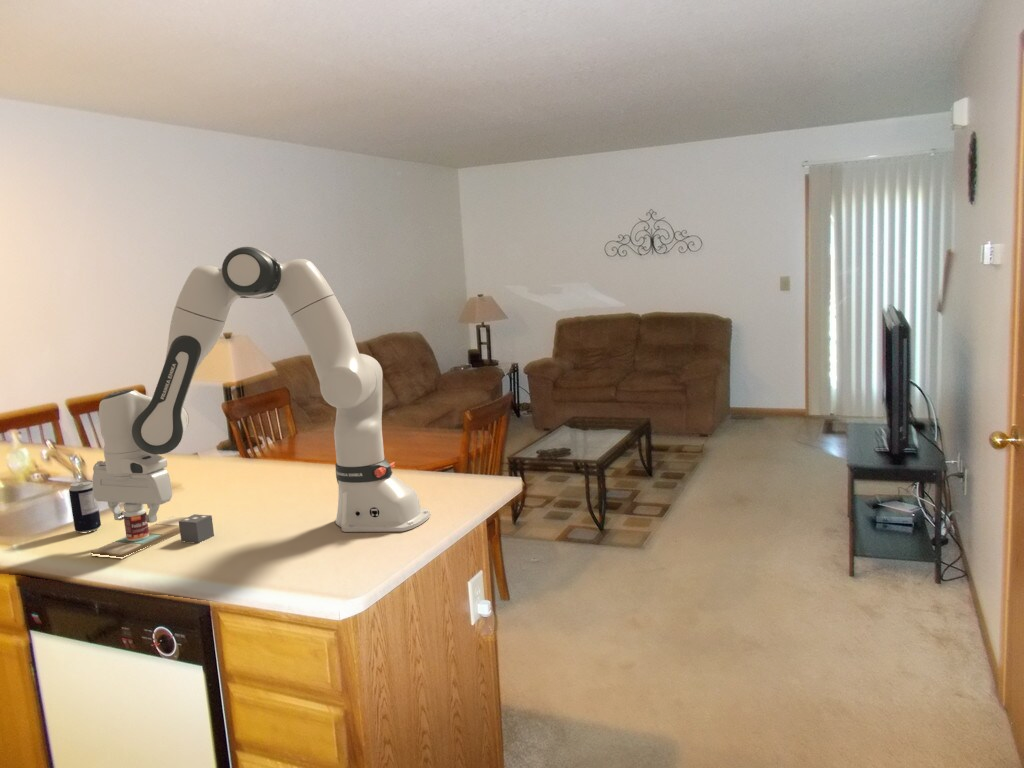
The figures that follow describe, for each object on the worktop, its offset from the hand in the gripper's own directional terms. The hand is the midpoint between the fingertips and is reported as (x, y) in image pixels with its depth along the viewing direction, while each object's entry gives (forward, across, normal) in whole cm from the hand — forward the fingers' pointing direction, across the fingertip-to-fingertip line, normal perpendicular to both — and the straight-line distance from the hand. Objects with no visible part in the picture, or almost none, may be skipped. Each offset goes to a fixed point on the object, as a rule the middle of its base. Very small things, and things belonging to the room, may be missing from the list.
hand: (135, 520), depth 181 cm
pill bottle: (+4, 0, 0) cm, 4 cm away
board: (+5, 0, +3) cm, 6 cm away
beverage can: (+6, -21, +5) cm, 22 cm away
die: (+6, +12, +5) cm, 14 cm away
